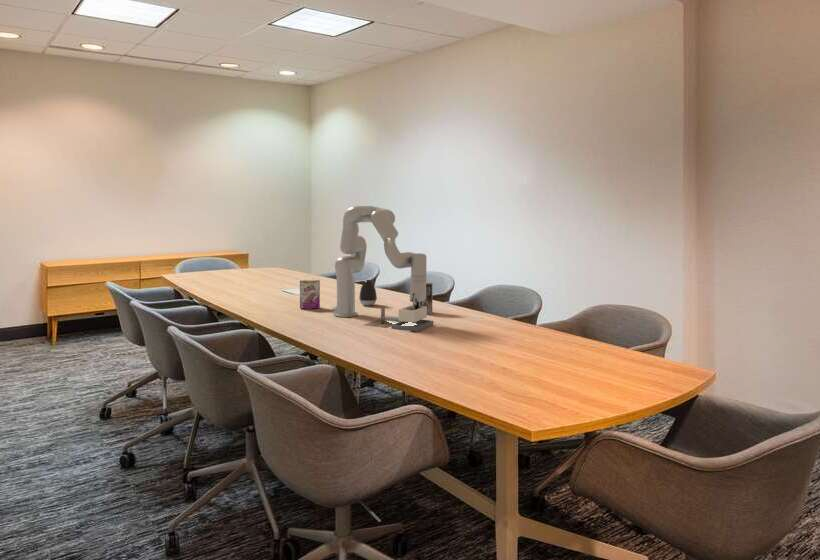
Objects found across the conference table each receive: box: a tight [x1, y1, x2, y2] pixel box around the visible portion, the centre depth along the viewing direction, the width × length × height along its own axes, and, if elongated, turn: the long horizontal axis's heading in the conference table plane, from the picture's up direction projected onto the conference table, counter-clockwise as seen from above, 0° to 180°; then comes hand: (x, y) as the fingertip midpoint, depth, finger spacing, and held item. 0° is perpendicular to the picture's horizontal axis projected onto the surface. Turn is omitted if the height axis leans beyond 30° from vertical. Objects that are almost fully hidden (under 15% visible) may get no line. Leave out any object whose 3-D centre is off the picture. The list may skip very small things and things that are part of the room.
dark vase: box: [358, 279, 378, 307], centre depth 356 cm, size 10×10×15 cm
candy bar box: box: [299, 278, 321, 310], centre depth 345 cm, size 11×5×16 cm, turn 98°
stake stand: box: [363, 308, 393, 329], centre depth 302 cm, size 13×17×8 cm
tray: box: [390, 319, 434, 333], centre depth 297 cm, size 13×19×2 cm
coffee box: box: [423, 282, 433, 315], centre depth 333 cm, size 9×6×16 cm
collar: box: [398, 304, 428, 323], centre depth 296 cm, size 8×14×6 cm, turn 154°
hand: (418, 315), depth 302 cm, fingers closed on collar, 1 cm apart
